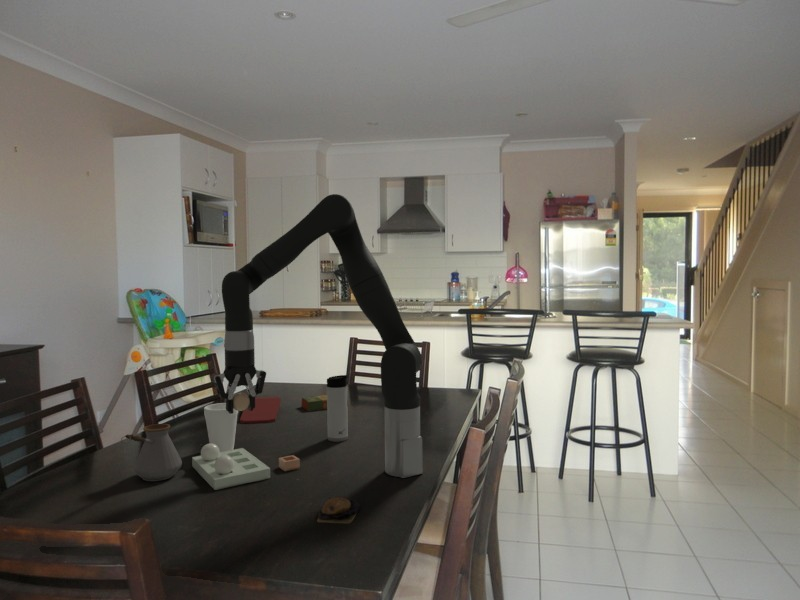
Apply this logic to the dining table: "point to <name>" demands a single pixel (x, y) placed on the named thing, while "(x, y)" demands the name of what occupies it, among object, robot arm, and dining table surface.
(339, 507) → the sandwich
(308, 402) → the carton
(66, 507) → the dining table surface
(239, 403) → the brown egg
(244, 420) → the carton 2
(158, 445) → the coffee pot
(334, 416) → the travel mug
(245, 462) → the egg tray
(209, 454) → the white egg
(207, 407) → the foam cup
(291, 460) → the egg cup
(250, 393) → the robot arm
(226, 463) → the white egg
